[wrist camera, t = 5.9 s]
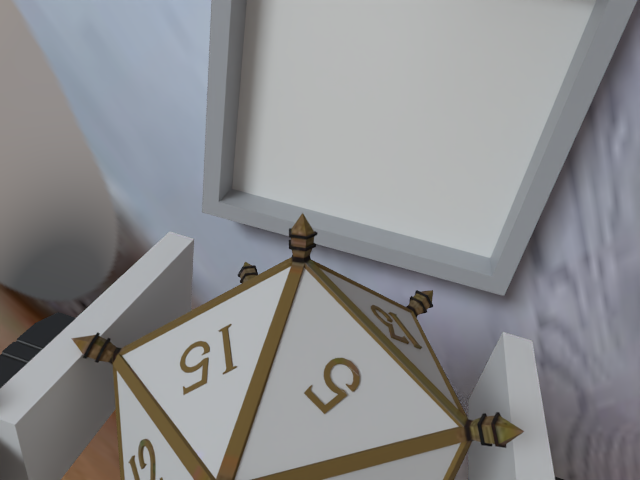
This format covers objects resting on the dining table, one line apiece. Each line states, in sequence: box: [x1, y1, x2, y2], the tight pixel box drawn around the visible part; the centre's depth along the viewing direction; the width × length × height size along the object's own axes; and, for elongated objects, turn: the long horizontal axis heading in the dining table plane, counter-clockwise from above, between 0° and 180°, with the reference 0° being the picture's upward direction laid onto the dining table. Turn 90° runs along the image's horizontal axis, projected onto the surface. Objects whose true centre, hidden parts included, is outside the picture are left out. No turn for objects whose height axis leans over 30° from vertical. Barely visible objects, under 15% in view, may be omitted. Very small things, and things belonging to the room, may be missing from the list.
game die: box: [71, 213, 524, 480], centre depth 11 cm, size 9×8×10 cm
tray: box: [202, 0, 637, 296], centre depth 25 cm, size 17×18×3 cm
